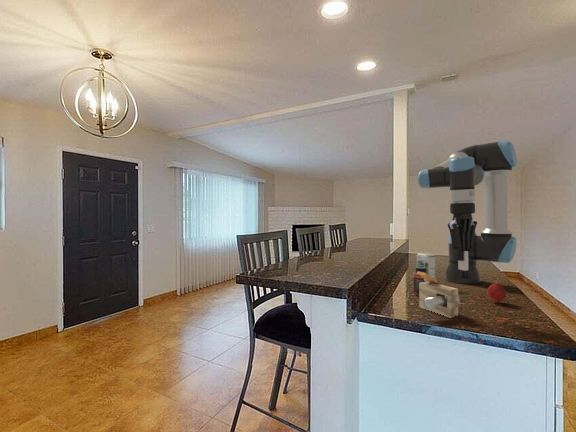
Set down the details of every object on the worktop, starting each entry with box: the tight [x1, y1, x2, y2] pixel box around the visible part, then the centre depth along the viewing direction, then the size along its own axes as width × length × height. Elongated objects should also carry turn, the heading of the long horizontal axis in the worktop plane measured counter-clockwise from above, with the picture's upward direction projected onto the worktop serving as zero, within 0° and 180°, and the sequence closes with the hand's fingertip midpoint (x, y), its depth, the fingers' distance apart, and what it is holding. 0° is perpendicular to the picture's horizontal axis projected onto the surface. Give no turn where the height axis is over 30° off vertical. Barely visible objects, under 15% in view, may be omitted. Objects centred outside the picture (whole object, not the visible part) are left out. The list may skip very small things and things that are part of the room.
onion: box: [486, 281, 507, 304], centre depth 113 cm, size 6×6×8 cm
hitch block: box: [418, 281, 459, 319], centre depth 105 cm, size 4×12×9 cm, turn 26°
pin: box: [422, 294, 461, 309], centre depth 101 cm, size 13×5×5 cm, turn 116°
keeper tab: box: [417, 271, 440, 284], centre depth 107 cm, size 8×4×1 cm, turn 116°
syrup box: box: [416, 252, 436, 279], centre depth 141 cm, size 6×6×14 cm
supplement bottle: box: [412, 266, 429, 297], centre depth 125 cm, size 6×6×11 cm
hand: (463, 269), depth 106 cm, fingers closed
